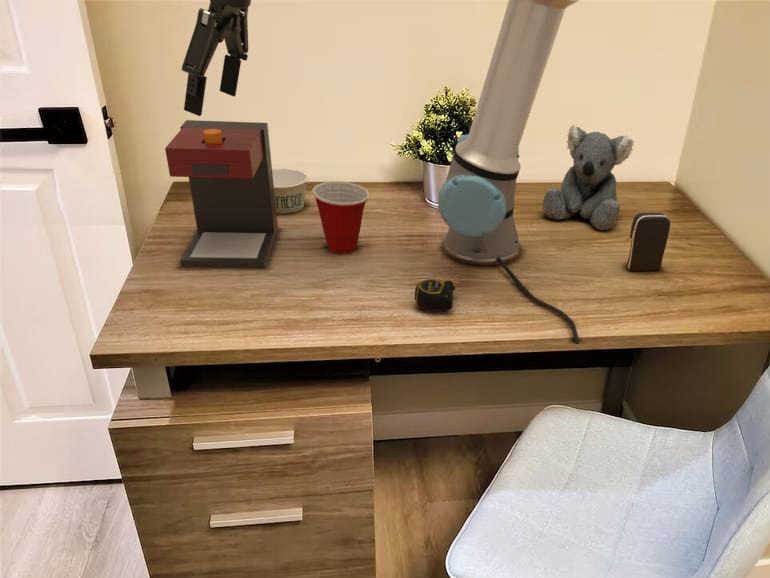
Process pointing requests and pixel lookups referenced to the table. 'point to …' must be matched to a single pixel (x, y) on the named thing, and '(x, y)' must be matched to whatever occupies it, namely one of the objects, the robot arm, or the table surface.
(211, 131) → the button
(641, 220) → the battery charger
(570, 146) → the koala plush
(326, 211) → the plastic cup
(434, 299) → the tape measure
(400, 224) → the table surface
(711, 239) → the table surface
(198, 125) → the coffee maker
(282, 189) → the food container
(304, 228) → the table surface
